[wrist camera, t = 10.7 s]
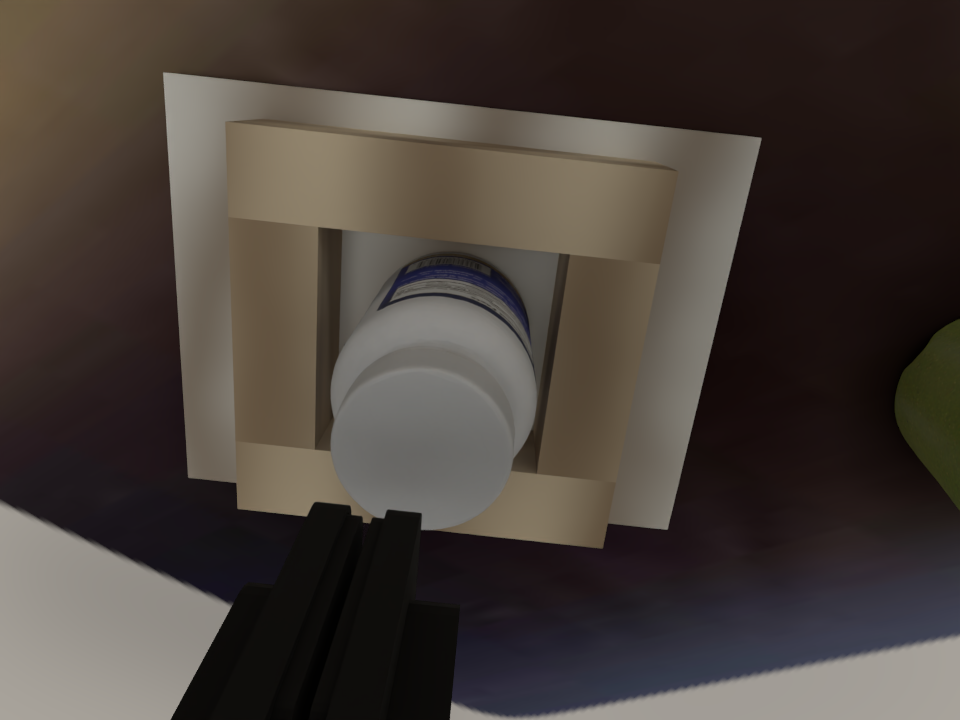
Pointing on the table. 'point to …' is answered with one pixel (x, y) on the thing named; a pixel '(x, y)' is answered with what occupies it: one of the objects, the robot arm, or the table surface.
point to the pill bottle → (434, 391)
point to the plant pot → (934, 408)
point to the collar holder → (434, 229)
